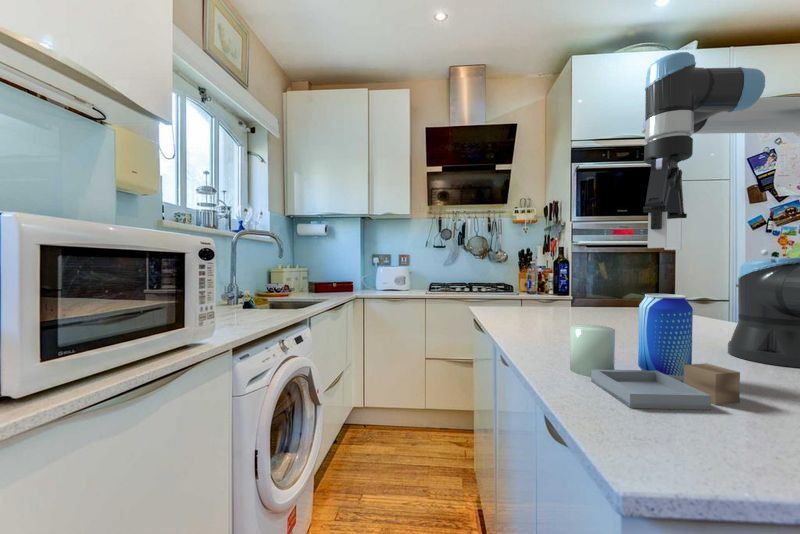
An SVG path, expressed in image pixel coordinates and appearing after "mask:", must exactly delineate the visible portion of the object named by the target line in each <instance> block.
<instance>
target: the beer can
mask: <svg viewBox="0 0 800 534" xmlns="http://www.w3.org/2000/svg"><path fill="white" fill-rule="evenodd" d="M691 305H692V304H690V303H689V301H688V299H687V296H686V295H682V294H672V293H671V294H670V293H645V294H644V298H643V299H642V301H641V302H640V303H639V305H638V348H637V349H638V351H637V353H638V359H637V366H638V368H639V369H640V370H649V371H659V372H661V373H663V374H665V375H668V376H670V377H672V378H674V379H676V380H678V381H681V382H684V365H690V364H693V363H692V362H693V359H692V358H693V323H694V322H693V321H694V319H693V318H694V317H693V311H694V310H693V307H692V306H691Z"/></svg>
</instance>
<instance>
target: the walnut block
mask: <svg viewBox="0 0 800 534" xmlns="http://www.w3.org/2000/svg"><path fill="white" fill-rule="evenodd" d="M683 383H685V384H687V385H689V386H691V387H694V388H696V389H698V390H700V391H702V392H705V393H707V394H709V395H711V405H714V406H720V405H729V404H730V405H731V404H739V403H740V399H741V398H740V396H741V395H740V393H741V392H740V389H741V372H740V371H737V370H733V369H730V368H727V367H722V366H718V365H715V364H712V363H708V362H705V363H692V364H690V365H684V381H683Z"/></svg>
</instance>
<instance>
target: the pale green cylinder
mask: <svg viewBox="0 0 800 534" xmlns="http://www.w3.org/2000/svg"><path fill="white" fill-rule="evenodd" d="M569 333H570V334H569V337H570V339H569V340H570V341H569V342H570V343H569V344H570V345H569V350H570V351H569V370H570V371H571V373H572V372H573V373H574V374H576V375H581V376H583V377H584V376H585V377H589V378H591V369H593V370H615V365H616V364H615V363H616V362H615V360H616V359H615V358H616V357H615V354H616V353H615V351H616V349H615V348H616V344H615V343H616V329H615V328H614V327H610V326H604V325H598V324H583V323H581V324H571V325H570V332H569Z"/></svg>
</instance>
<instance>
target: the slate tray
mask: <svg viewBox="0 0 800 534" xmlns="http://www.w3.org/2000/svg"><path fill="white" fill-rule="evenodd" d="M590 378H591V379H590V381H591V383H593V384H595V385H596V386H597V387H599V388H601V389H602V390H603V391H605V392H606V393H608V394H609V395H611V396H612V397H614V398H615V399H616V400H618V401H619V402H621V403H622V404H624V405H626V407H628V408H629V409H663V410H664V409H667V410H703V411H704V410H709V411H710V410H711V409H712V404H711V395H709V394H707V393H705V392H702V391H700V390H698V389H696V388H694V387H691V386H689V385H687V384H685V383H684V381H678V380H676V379H674V378H672V377H670V376H668V375H665V374H663V373H661V372H659V371H649V370H641V369H640V370H639V369H635V370H633V369H614V370H593V369H591V377H590Z"/></svg>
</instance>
